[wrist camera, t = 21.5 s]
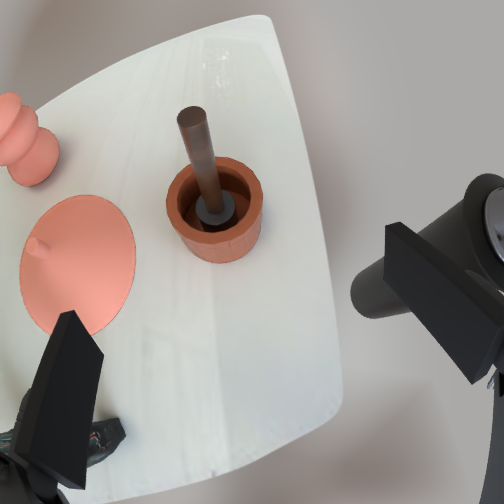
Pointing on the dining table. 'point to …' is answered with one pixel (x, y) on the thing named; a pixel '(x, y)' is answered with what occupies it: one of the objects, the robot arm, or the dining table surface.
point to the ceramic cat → (101, 440)
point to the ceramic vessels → (65, 234)
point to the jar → (247, 208)
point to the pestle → (206, 172)
